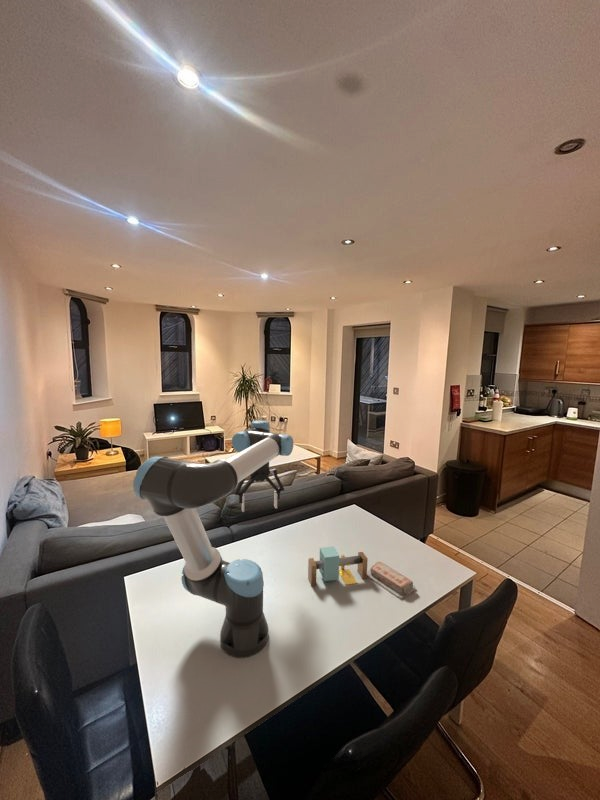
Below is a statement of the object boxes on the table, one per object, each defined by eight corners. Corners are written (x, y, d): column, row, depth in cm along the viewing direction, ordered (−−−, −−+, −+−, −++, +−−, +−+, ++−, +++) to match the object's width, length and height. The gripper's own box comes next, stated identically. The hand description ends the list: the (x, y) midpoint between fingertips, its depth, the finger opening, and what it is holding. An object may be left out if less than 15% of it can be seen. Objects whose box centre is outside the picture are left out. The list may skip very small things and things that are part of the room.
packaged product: (417, 578, 128) (401, 589, 122) (416, 590, 128) (400, 601, 122) (380, 556, 142) (364, 564, 136) (379, 567, 143) (364, 575, 137)
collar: (333, 568, 137) (333, 546, 136) (338, 579, 130) (339, 555, 129) (319, 570, 135) (319, 547, 134) (324, 581, 129) (324, 557, 128)
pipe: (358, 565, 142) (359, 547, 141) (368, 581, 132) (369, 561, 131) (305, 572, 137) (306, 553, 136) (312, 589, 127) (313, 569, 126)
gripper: (287, 454, 141) (286, 502, 143) (227, 457, 134) (227, 508, 136) (291, 459, 134) (290, 509, 136) (229, 463, 126) (229, 516, 129)
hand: (259, 508), depth 136 cm, fingers open, 13 cm apart
